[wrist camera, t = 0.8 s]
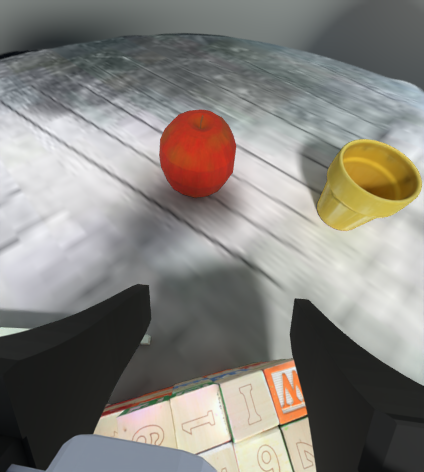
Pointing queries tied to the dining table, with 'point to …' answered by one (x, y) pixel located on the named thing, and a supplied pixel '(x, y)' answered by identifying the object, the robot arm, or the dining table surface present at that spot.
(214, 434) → the stack of blocks
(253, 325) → the dining table surface
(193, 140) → the apple
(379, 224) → the dining table surface
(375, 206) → the plant pot
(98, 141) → the dining table surface
